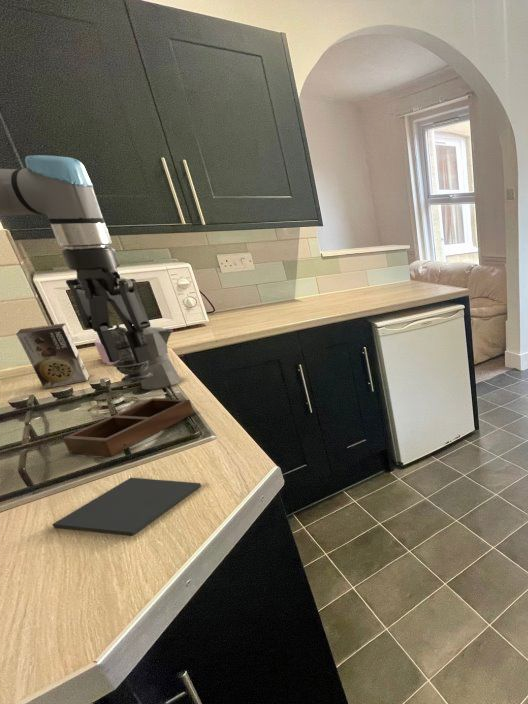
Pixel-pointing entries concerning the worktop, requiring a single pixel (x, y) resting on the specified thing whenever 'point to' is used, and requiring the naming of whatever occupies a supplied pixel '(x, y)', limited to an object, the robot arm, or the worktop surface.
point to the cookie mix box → (53, 355)
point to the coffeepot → (159, 360)
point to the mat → (128, 506)
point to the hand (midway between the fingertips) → (130, 360)
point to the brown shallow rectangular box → (128, 427)
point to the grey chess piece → (128, 358)
